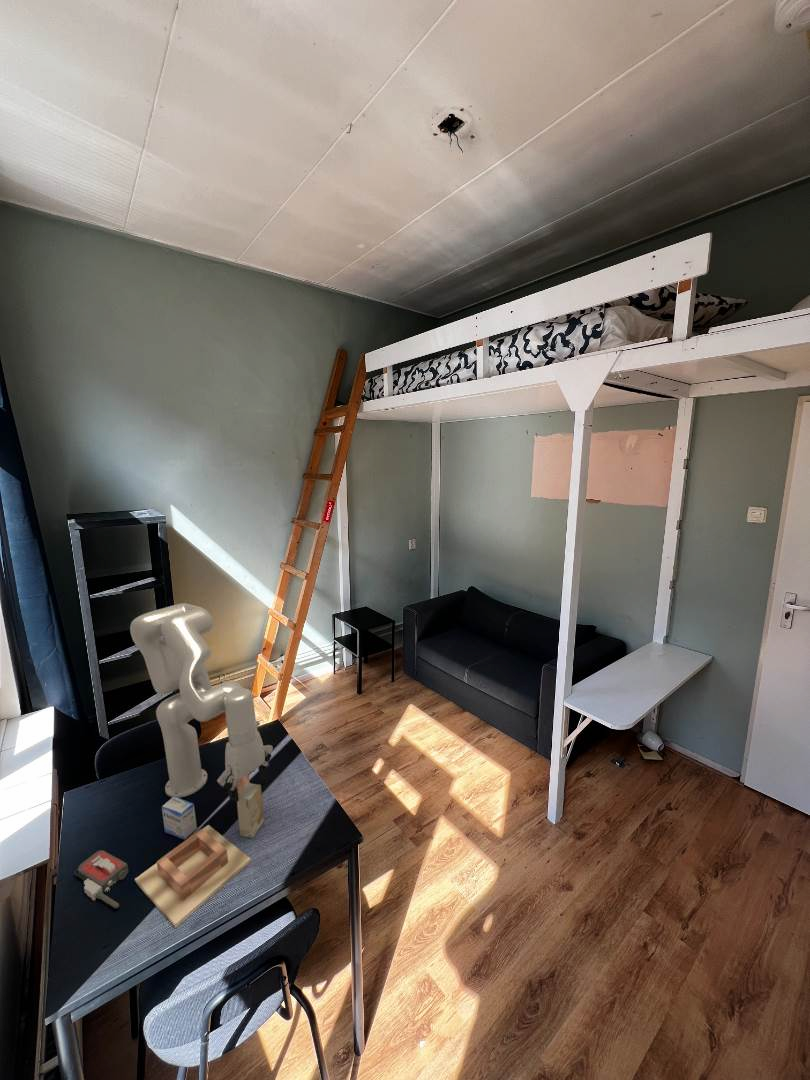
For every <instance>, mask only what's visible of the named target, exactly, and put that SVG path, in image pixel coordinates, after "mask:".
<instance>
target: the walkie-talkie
mask: <svg viewBox="0 0 810 1080" xmlns="http://www.w3.org/2000/svg"><path fill="white" fill-rule="evenodd" d="M77 870H78V872H77V873H76V871H77ZM73 872H74V876H75V875H77V876H79V877H80V878H81V879H82V881H83V890H84V894H85V893H86V894H87V895H86V894H85V895H86V896H88V897H89V898H91V900H92V901H96V900H97V899H98V900H101V901H103V902H104V903H105V904H107V905H110V906H111V907H113V908H114V909H118V908H119V907H120V903H118V902H117V901H116V900H114V899H113V898H111V897H109V896H108V895H106V894H105V893H109V891H110V890H111V888H112V887H113V886H114V885H113V883H114V884H115V883H116V882H117V881H118V880H119V881H122V880H124V879H125V878H126V876H127V874H129V867H128V863H127V862H125V861H123V860H121V859H120V858H118V857H116V856H114V855H113V854H110V853H109V852H107V851H105V850H97V851H96V852H95V853H94V854H91V856H89V857H88V858H86V859H85V860H84V861H83V862H81V863H80V864H79V866H78V868H77V869H75V870H74V871H73ZM77 876H76V877H77ZM80 878H79V879H80ZM81 879H80V880H81ZM119 881H118V882H119ZM118 882H117V883H118ZM117 883H116V884H117ZM116 884H115V885H116ZM84 885H85V886H84ZM112 885H113V886H112ZM111 886H112V887H111ZM110 887H111V888H110ZM108 890H109V891H108ZM106 891H107V892H106ZM103 892H105V893H103ZM96 898H97V899H96Z"/></svg>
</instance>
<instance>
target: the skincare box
mask: <svg viewBox="0 0 810 1080" xmlns="http://www.w3.org/2000/svg"><path fill="white" fill-rule="evenodd" d="M238 796H239V801H238V802H236V807H237V817H238V826H239V827H238V828H239V835H240V837H245V838H253V839H254V837H255V836H256V834H257V833H258V831H259V830H260V828H261V827H262V825H263V823H264V822H265V818H264V808H263V807H264V806H263V798H262V786H261V784H258V783H257V784H256V783H251V782H249V783H248V784H247V785H246V786H245V788H244V789H243V790H242V791H241V793H240V794H239V795H238Z"/></svg>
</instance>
